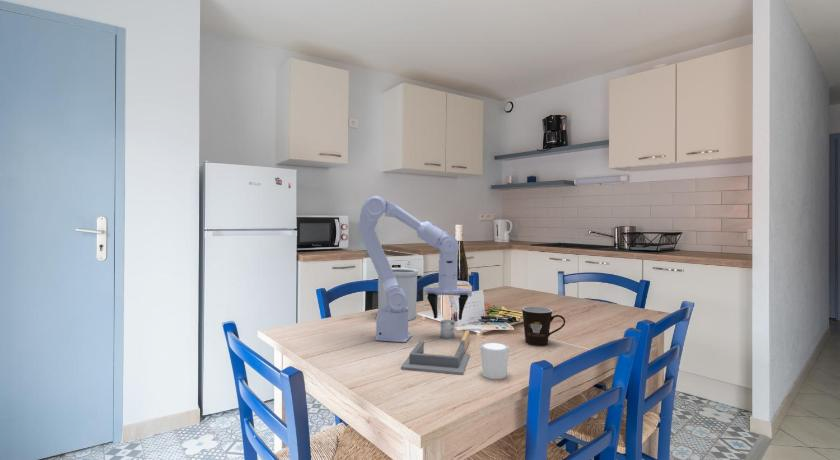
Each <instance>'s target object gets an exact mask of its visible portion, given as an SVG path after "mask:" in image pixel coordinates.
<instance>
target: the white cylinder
mask: <svg viewBox="0 0 840 460" xmlns="http://www.w3.org/2000/svg"><path fill="white" fill-rule="evenodd" d="M509 353H510V346H509V345H507V344H506V343H503V342H498V341H497V342H496V341H495V342H494V341H491V342H483V343H482V344H480V355H481V369H482V375H483V376H484V378H486V379H491V380H502V379H505V378H506V377H507V374H508V363H509Z"/></svg>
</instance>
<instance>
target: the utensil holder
mask: <svg viewBox="0 0 840 460" xmlns="http://www.w3.org/2000/svg"><path fill="white" fill-rule="evenodd" d="M391 269H392V271H393V273H394V275H395V277H396V279H397V281H398V283H399V285H400V286H401V287H402V288H404V290H405V292H406V295H407V298H408V303H407V307H408V321H412V320H414V319H415V318H416V315H417V314H416V313H417V297H418V295H417V294H418V293H417V292H418V290H417V289H418V287H417V286H418V274H419V270H418V269H415V268H410V267H409V268H406V267H391ZM377 281H378V282H377V297H378V298H377V300H378V301H377V305H378V306H377V308H378V309H377V311H378V310H379V309H385V307H386V306H387V298H386V293H385V290H384V288H383V285H382V282H381V280H380V278H379V276H378V275H377Z"/></svg>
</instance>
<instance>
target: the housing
mask: <svg viewBox="0 0 840 460" xmlns="http://www.w3.org/2000/svg"><path fill="white" fill-rule="evenodd" d="M424 345H425V341H422V340H421V341H418V342H417V344H416V345H415V346H414V347H413V349H412V350H411V352H410V353H409V356H408V357H407V358H406V360H405V361H404V362H403V363H402V365H401V366H400V369H401V370H405V371H417V372H426V373H427V372H429V373H437V374H451V375H464V373H465V370H466V367H467V364H468V361H469V359H470V356H471V355H470V353H464V345H462V344H459V345H458V346H457V349H456V352H455V353H454V355H443V354H430V353H425V351H424V350H425V346H424Z"/></svg>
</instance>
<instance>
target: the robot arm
mask: <svg viewBox="0 0 840 460" xmlns="http://www.w3.org/2000/svg"><path fill="white" fill-rule="evenodd" d="M383 214H384V217H388V218H395V219H397V220H399V221H400V222H402V223H404V224H405V225H406V226H408V227H410V228H411V229H413V230H414V231H416V236H417V238H419V239H420V240H422V241H423V242H426V243H427V244H429V245H430V246H432V247H433V248H434V249H435V248H437V249H438V251H439V256H438V257H439V259H438V286H437V287H424V293H423V294H424V296H425V295H426V296H427V297H426V298H427V302H428V303H429V304H430V307H431V310H432V314H433V318H434V319H435V320H436V319H437V318H438V315H439V314H438V313H439V311H438V300H439V299H438V298H439V297H438V296H459V297H458V320H459V321H461V320H462V318H463V312H464V309H465V306H466V303H467V301H468V298H469V297H470V298H471V297H472V296H473V295H472V294H473V293H472V292H473V289H472V288H471V289H470V288H459V287H458V252H459V250H460V245H459V242H458V240H457V238H455V237H454V236H451V235H449V232H448V231H446V230H443V229H441V228H439V227H438V226H436V223H435V222H433V221H431V222H430V221H429V220H426V221H423V222H422V221H420V220H419V219H418V218H416V217H415V216H413V215H411V213H410V212H407V211H406V210H404V209H403V208H401V206H399V205H397V204H395V203H393V202H390V201H389V200H386V199H385V200H384V199H383V198H382V197H381V196H379V195H372V196H369V197H368V198H366V200H365V202H364V204H363V205H362V207H361V209H360V216H359V220H358V221H359V222H358V226H357V230H358V234H359V236H360V238H361V240H362V243H363V244H364V247H365V248H366V251H367V253H368V256H369V258H370V260H371V263H372V265H373V266H374V269H375V272H376V273H377V277H378V276H379V278H380V280H381V282H382V285H383V288H384V290H385V293H386V298H387V306H386V307H385V309H379V310H378V309H377V314H376V321H375V323H376V324H375V325H376V329H375V330H376V331H375V332H376V336H375V341H381V342H383V341H385V342H396V343H407V342H408V340H409V339H410V338H411V337H412V335H413V334H412V333H409V320H408V307H407V303H408V298H407V295H406V292H405V290H404V288H402V287H401V286H400V285H399V283H398V281H397V279H396V277H395V275H394V273H393V271H392V269H391V268H392V266H391V264H390V262H389V260H388V258H387V255H386V253H385V251H384V249H383V246H382V244H381V242H380V240H379V238H378V235H377V234H376V231H375V229H376V226H377V224H378V221H379V220H380V218H381V217H382V216H383Z"/></svg>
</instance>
